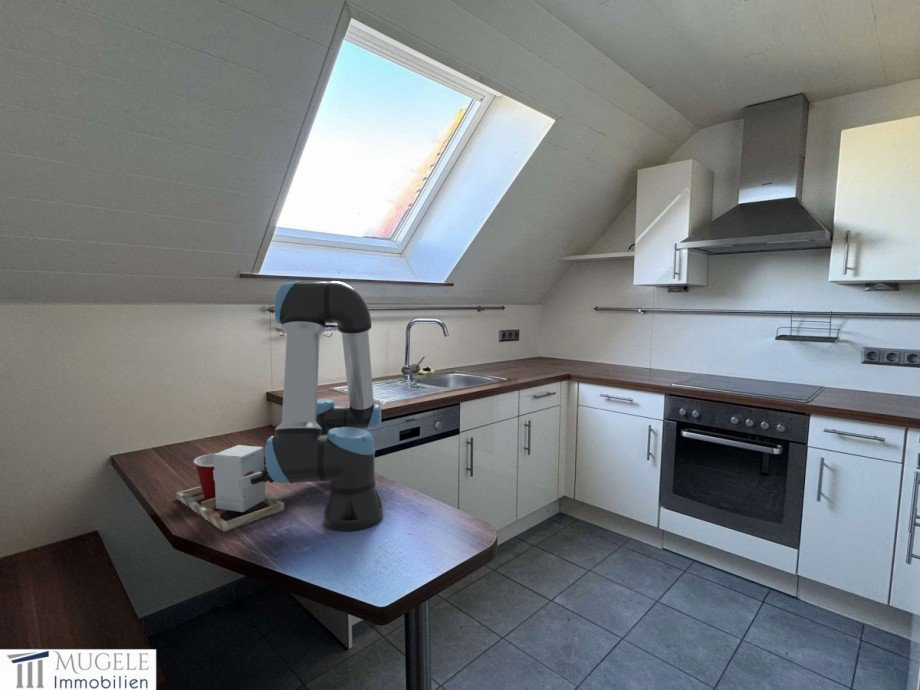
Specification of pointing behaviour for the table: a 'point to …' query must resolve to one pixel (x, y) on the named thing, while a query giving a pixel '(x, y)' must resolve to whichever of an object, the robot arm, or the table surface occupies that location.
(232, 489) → the supplement box
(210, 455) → the plastic cup
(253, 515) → the wooden frame
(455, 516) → the table surface
